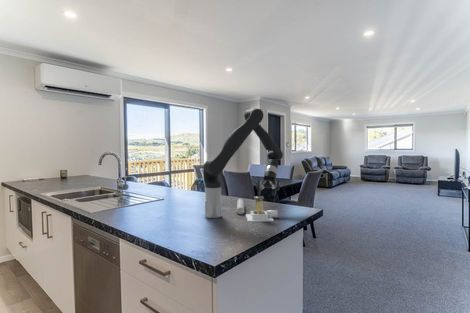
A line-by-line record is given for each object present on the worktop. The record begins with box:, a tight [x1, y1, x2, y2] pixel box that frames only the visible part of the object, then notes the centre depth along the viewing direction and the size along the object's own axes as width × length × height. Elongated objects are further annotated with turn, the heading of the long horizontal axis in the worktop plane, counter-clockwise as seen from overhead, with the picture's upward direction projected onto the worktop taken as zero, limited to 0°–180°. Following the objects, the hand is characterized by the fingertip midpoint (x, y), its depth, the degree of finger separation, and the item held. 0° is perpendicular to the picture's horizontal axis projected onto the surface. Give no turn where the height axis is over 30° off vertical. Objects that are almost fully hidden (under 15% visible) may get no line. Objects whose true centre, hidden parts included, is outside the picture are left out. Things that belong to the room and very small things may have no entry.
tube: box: [236, 198, 245, 215], centre depth 169 cm, size 5×5×25 cm
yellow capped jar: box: [253, 195, 265, 214], centre depth 148 cm, size 6×6×11 cm
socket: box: [245, 209, 279, 223], centre depth 149 cm, size 18×14×4 cm
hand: (265, 195), depth 157 cm, fingers open, 8 cm apart
